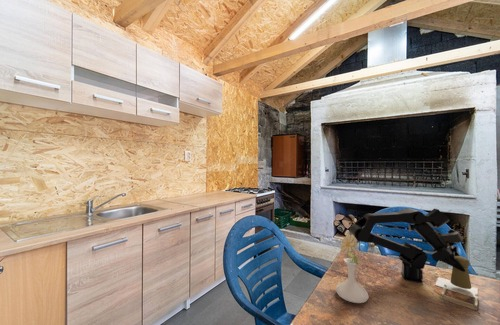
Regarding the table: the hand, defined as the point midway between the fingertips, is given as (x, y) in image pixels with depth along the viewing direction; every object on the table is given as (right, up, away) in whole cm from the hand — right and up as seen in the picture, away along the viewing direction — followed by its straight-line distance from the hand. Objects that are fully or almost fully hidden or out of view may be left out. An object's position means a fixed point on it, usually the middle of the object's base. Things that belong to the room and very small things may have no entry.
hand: (465, 269), depth 84 cm
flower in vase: (-46, -10, -3) cm, 47 cm away
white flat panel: (-1, -9, +3) cm, 10 cm away
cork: (-1, -7, +1) cm, 7 cm away
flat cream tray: (-7, -9, -5) cm, 12 cm away
